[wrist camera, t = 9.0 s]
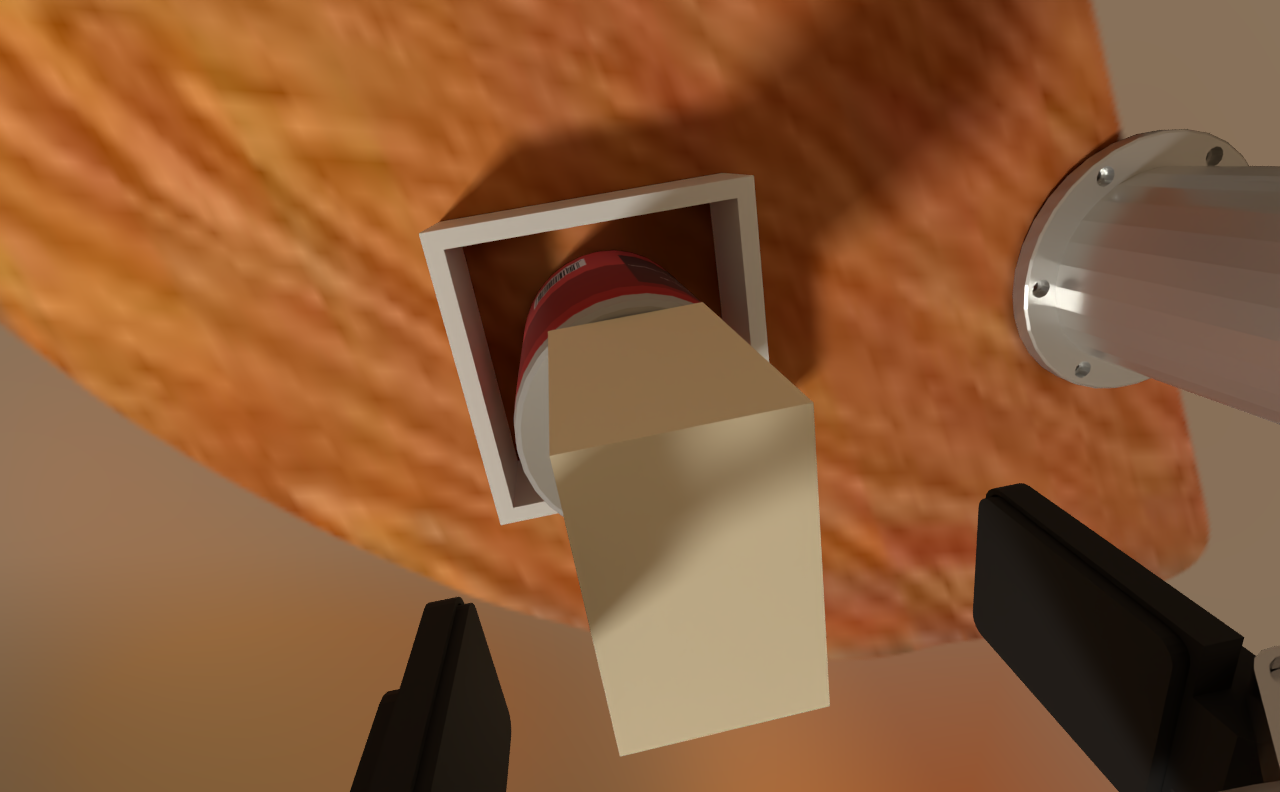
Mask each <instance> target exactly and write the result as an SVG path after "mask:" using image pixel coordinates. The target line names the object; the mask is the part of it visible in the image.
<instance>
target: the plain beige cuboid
mask: <svg viewBox="0 0 1280 792" xmlns="http://www.w3.org/2000/svg"><path fill="white" fill-rule="evenodd" d="M548 377H549V456H550V460H551V465H552V469H553V473H554V477H555V482H556V486H557V490H558V494H559V499H560V503H561V507H562V511H563V516H564V520H565V524H566V528H567V533H568V537H569V541H570V546H571V550H572V554H573V558H574V563H575V567H576V571H577V575H578V580H579V584H580V588H581V592H582V597H583V601H584V605H585V609H586V614H587V618H588V622H589V627H590V631H591V635H592V639H593V644H594V648H595V652H596V656H597V661H598V665H599V669H600V673H601V678H602V682H603V686H604V690H605V695H606V699H607V703H608V707H609V712H610V716H611V720H612V725H613V729H614V733H615V737H616V742H617V746H618V750H619V754H620V756H624V755H628V754H632V753H636V752H641V751H645V750H649V749H653V748H657V747H661V746H665V745H670V744H674V743H678V742H682V741H686V740H691V739H695V738H699V737H702V736H707V735H711V734H715V733H719V732H723V731H727V730H732V729H736V728H740V727H744V726H749V725H752V724H757V723H761V722H765V721H769V720H774V719H778V718H782V717H786V716H790V715H794V714H798V713H803V712H807V711H811V710H815V709H819V708H823V707H827V706H830V704H829V703H830V702H829V683H828V666H827V646H826V628H825V610H824V591H823V573H822V554H821V536H820V517H819V499H818V481H817V462H816V444H815V425H814V407H813V402H812V401H811V400H810V399H809V398H808V397H807V396H806V395H804V394H803V393H802V392H801V391H800V390H799V389H798V388H797V387H796V386H795V385H793V384H792V383H791V382H790V381H789V380H788V379H787V378H786V377H785V376H784V375H782V374H781V373H780V372H779V371H778V370H777V369H776V368H775V367H774V366H773V365H771V364H770V363H769V362H768V361H767V360H766V359H765V358H764V357H763V356H762V355H760V354H759V353H758V352H757V351H756V350H755V349H754V348H753V347H752V346H751V345H749V344H748V343H747V342H746V341H745V340H744V339H743V338H742V337H741V336H740V335H738V334H737V333H736V332H735V331H734V330H733V329H732V328H731V327H730V326H729V325H727V324H726V323H725V322H724V321H723V320H722V319H721V318H720V317H719V316H718V315H716V314H715V313H714V312H713V311H712V310H711V309H710V308H709V307H708V306H707V305H705V304H704V303H703V302H700V303H695V304H690V305H684V306H679V307H674V308H668V309H663V310H658V311H652V312H647V313H642V314H636V315H631V316H626V317H620V318H615V319H610V320H604V321H599V322H594V323H588V324H583V325H578V326H572V327H567V328H562V329H556V330H551V331H548Z"/></svg>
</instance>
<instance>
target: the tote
mask: <svg viewBox="0 0 1280 792" xmlns="http://www.w3.org/2000/svg"><path fill="white" fill-rule="evenodd" d="M706 203H710V211H711V221H712V230H713V239H714V248H715V257H716V266H717V276H718V285H719V294H720V303H721V312H722V320H723V321H724V322H725V323H726V324H727V325H729V326H730V327H731V328H732V329H733V330H734V331H735V332H736V333H737V334H738V335H740V336H741V337H742V338H743V339H744V340H745V341H746V342H747V343H748V344H749V345H751V346H752V347H753V348H754V349H755V350H756V351H757V352H758V353H759V354H760V355H762V356H763V357H764V358H765V359H766V360H767V361H768V362H769V354H768V342H767V330H766V317H765V305H764V293H763V281H762V269H761V257H760V244H759V232H758V220H757V208H756V196H755V184H754V175H744V174H730V173H719V174H713V175H707V176H701V177H695V178H690V179H684V180H678V181H672V182H667V183H661V184H655V185H649V186H643V187H638V188H632V189H626V190H620V191H614V192H609V193H603V194H597V195H591V196H586V197H580V198H574V199H568V200H562V201H557V202H551V203H545V204H539V205H534V206H528V207H522V208H516V209H510V210H505V211H499V212H493V213H487V214H482V215H476V216H470V217H464V218H458V219H453V220H447V221H441V222H438V223H436V224H434V225H433V226H431V227H429V228H427V229H426V230H424V231H422V232H420V233H419V236H420V240H421V243H422V247H423V250H424V254H425V258H426V261H427V265H428V268H429V272H430V275H431V279H432V282H433V286H434V289H435V293H436V297H437V300H438V304H439V307H440V311H441V314H442V318H443V321H444V325H445V329H446V332H447V336H448V339H449V343H450V346H451V350H452V353H453V357H454V360H455V364H456V368H457V371H458V375H459V378H460V382H461V385H462V389H463V392H464V396H465V400H466V403H467V407H468V410H469V414H470V417H471V421H472V424H473V428H474V432H475V435H476V439H477V442H478V446H479V449H480V453H481V456H482V460H483V463H484V467H485V471H486V474H487V478H488V481H489V485H490V488H491V492H492V495H493V499H494V503H495V506H496V510H497V513H498V517H499V520H500V524H501V525H504V524H509V523H513V522H518V521H523V520H528V519H532V518H537V517H542V516H546V515H551V514H556V513H558V512H556V511H555V510H553V509H552V508H551V507H550V506H549V505H548V504H547V503H546V502H545V501H544V500H543V499H542V498H541V497H540V496H539V495H538V493H537V492H536V491H535V490H534V488H533V486H532V485H531V483H530V481H529V479H528V478H527V476H526V474H525V473H524V470H523V467H522V464H521V461H520V460H519V461H518V460H517V456H516V452H515V449H514V445H513V441H512V437H511V433H510V429H509V425H508V421H507V418H506V414H505V410H504V406H503V402H502V398H501V394H500V390H499V387H498V383H497V379H496V375H495V371H494V367H493V363H492V359H491V356H490V352H489V348H488V344H487V340H486V336H485V332H484V328H483V325H482V321H481V317H480V313H479V309H478V305H477V301H476V297H475V294H474V290H473V286H472V282H471V278H470V274H469V270H468V266H467V263H466V259H465V255H464V251H463V247H462V246H468V245H473V244H479V243H485V242H490V241H496V240H502V239H507V238H513V237H519V236H524V235H530V234H536V233H541V232H547V231H553V230H558V229H564V228H570V227H575V226H581V225H587V224H592V223H598V222H604V221H609V220H615V219H621V218H626V217H632V216H638V215H643V214H649V213H655V212H660V211H666V210H672V209H677V208H683V207H689V206H694V205H700V204H706Z"/></svg>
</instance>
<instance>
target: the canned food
mask: <svg viewBox="0 0 1280 792" xmlns="http://www.w3.org/2000/svg"><path fill="white" fill-rule="evenodd" d="M700 302H701V301H700V300H698V299H697V298H696V297H695V296H694V295H693V294H692V293H691V292H689V291H688V290H687V289H686V288H685V287H684V286H683V285H682V284H680V283H679V282H678V281H677V280H676V279H675V278H674V277H673V276H671V275H670V274H669V273H668V272H667V271H666V270H665V269H663V268H662V267H661V266H659V265H658V264H656V263H655V262H653V261H651V260H650V259H648V258H646V257H643V256H640V255H637V254H634V253H632V252H624V251H616V250H612V251H600V252H594V253H591V254H588V255H584V256H581V257H579V258H577V259H575V260H573V261H571V262H569V263H567V264H565V265H564V266H563V267H561V268H560V269H559V270H558V271H556V272H555V273H554V274H553V275H552V276H550V278H549V279H548V280H547V281H546V282H545V284H544V285H543V286H542V287H541V288H540V290H539V291H538V293H537V295H536V297H535V299H534V301H533V302H532V304H531V307H530V310H529V313H528V316H527V319H526V324H525V331H524V338H523V345H522V352H521V360H520V367H519V374H518V381H517V389H516V398H515V412H514V429H515V439H516V445H517V452H518V455H519V458H520V461H521V464H522V467H523V470H524V473H525V474H526V476H527V478H528V479H529V481H530V483H531V485H532V486H533V488H534V490H535V491H536V492H537V493H538V495H539V496H540V497H541V498H542V499H543V500H544V501H545V502H546V503H547V504H548V505H549V506H550V507H551V508H552V509H553V510H555V511H556V512H558V513H559V514H560V515H562V516H563V511H562V507H561V503H560V499H559V494H558V490H557V486H556V482H555V477H554V473H553V469H552V465H551V460H550V456H549V377H548V331H551V330H556V329H562V328H567V327H572V326H578V325H583V324H588V323H594V322H599V321H604V320H610V319H615V318H620V317H626V316H631V315H636V314H642V313H647V312H652V311H658V310H663V309H668V308H674V307H679V306H684V305H690V304H695V303H700ZM563 517H564V516H563Z"/></svg>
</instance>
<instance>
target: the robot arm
mask: <svg viewBox="0 0 1280 792" xmlns="http://www.w3.org/2000/svg"><path fill="white" fill-rule="evenodd" d="M1013 308H1014V318H1015V321H1016V325H1017V328H1018V332H1019V336H1020V338H1021V340H1022V341H1023V343H1024V345H1025V347H1026V349H1027V350H1028V352H1029V354H1030V355H1031V356H1032V357H1033V358H1034V359H1035V360H1036V361H1037V362H1038V363H1039V364H1040V365H1041V366H1042V367H1043V368H1045V369H1046V370H1048V371H1049V372H1051V373H1053V374H1054V375H1056V376H1058V377H1060V378H1062V379H1065V380H1067V381H1069V382H1072V383H1074V384H1077V385H1082V386H1087V387H1092V388H1118V387H1123V386H1127V385H1132V384H1137V383H1139V382H1142V381H1144V380H1147V379H1150V378H1152V379H1155V380H1158V381H1161V382H1163V383H1166V384H1169V385H1172V386H1174V387H1177V388H1180V389H1183V390H1186V391H1188V392H1191V393H1194V394H1197V395H1199V396H1202V397H1205V398H1208V399H1211V400H1213V401H1216V402H1219V403H1222V404H1224V405H1227V406H1230V407H1233V408H1236V409H1238V410H1241V411H1244V412H1247V413H1250V414H1252V415H1255V416H1258V417H1260V418H1263V419H1266V420H1269V421H1272V422H1274V423H1277V424H1280V167H1275V166H1249V165H1248V164H1247V162H1246V160H1245V159H1244V157H1243V156H1242V155H1241V154H1240V153H1239V152H1238V151H1237V150H1236V149H1235V148H1233V147H1232V146H1231V145H1230V144H1229V143H1228V142H1226V141H1224V140H1222V139H1220V138H1218V137H1216V136H1214V135H1212V134H1210V133H1205V132H1199V131H1194V130H1188V129H1183V130H1182V129H1181V130H1158V131H1152V132H1147V133H1141V134H1136V135H1133V136H1131V137H1128V138H1125V139H1123V140H1120V141H1118V142H1115V143H1113V144H1111V145H1109V146H1108V147H1106V148H1104V149H1103V150H1101V151H1099V152H1098V153H1096V154H1094V155H1093V156H1091V157H1089V158H1088V159H1087V160H1086V161H1085V162H1083V163H1082V164H1081V165H1080V166H1079V167H1078V168H1076V169H1075V170H1074V171H1073V172H1072V173H1071V174H1069V175H1068V176H1067V177H1066V178H1065V180H1064V181H1063V182H1062V183H1061V184H1060V185H1059V186H1058V188H1057V189H1056V190H1055V191H1054V192H1053V193H1052V194H1051V196H1050V197H1049V198H1048V200H1047V201H1046V203H1045V204H1044V206H1043V207H1042V209H1041V210H1040V212H1039V213H1038V215H1037V216H1036V218H1035V220H1034V221H1033V223H1032V226H1031V228H1030V230H1029V232H1028V234H1027V236H1026V239H1025V241H1024V243H1023V245H1022V249H1021V252H1020V256H1019V259H1018V263H1017V266H1016V270H1015V277H1014V286H1013ZM973 618H974V622H975V624H976V627H977V629H978V631H979V632H980V634H981V635H982V636H983V637H984V639H985V640H986V641H987V642H988V643H989V644H990V645H991V646H992V648H993V649H994V650H995V651H996V652H997V653H998V654H999V656H1000V657H1001V658H1002V659H1003V660H1004V661H1005V662H1006V664H1007V665H1008V666H1009V667H1010V668H1011V669H1012V670H1013V672H1014V673H1015V674H1016V675H1017V676H1018V677H1019V678H1020V680H1021V681H1022V682H1023V683H1024V684H1025V685H1026V686H1027V688H1028V689H1029V690H1030V691H1031V692H1032V693H1033V694H1034V695H1035V697H1036V698H1037V699H1038V700H1039V701H1040V702H1041V703H1042V705H1043V706H1044V707H1045V708H1046V709H1047V710H1048V711H1049V712H1050V714H1051V715H1052V716H1053V717H1054V718H1055V719H1056V721H1057V722H1058V723H1059V724H1060V725H1061V726H1062V727H1063V729H1064V730H1065V731H1066V732H1067V733H1068V734H1069V735H1070V736H1071V738H1072V739H1073V740H1074V741H1075V742H1076V743H1077V744H1078V746H1079V747H1080V748H1081V749H1082V750H1083V751H1084V752H1085V754H1086V755H1087V756H1088V757H1089V758H1090V759H1091V760H1092V762H1094V764H1095V765H1096V766H1097V767H1098V768H1099V770H1100V771H1101V772H1102V773H1103V774H1104V775H1105V776H1106V777H1107V778H1108V780H1109V781H1110V782H1111V783H1112V784H1113V785H1114V787H1115V788H1116V789H1117V790H1118V791H1119V792H1280V646H1274V647H1271V648H1268V649H1264V650H1262V651H1261V652H1260V653H1259V654H1258V655H1257V656H1255V655H1254V654H1253V653H1251V652H1250V651H1248V650H1247V649H1246V648H1244V647H1243V646H1242V644H1243V640H1244V637H1243V636H1242V635H1240V634H1239V633H1237V632H1236V631H1234V630H1233V629H1232V628H1230V627H1229V626H1227V625H1226V624H1224V623H1223V622H1222V621H1220V620H1219V619H1217V618H1216V617H1215V616H1213V615H1212V614H1210V613H1209V612H1207V611H1206V610H1205V609H1203V608H1202V607H1200V606H1199V605H1198V604H1196V603H1195V602H1193V601H1192V600H1190V599H1189V598H1188V597H1186V596H1185V595H1183V594H1182V593H1180V592H1179V591H1178V590H1176V589H1175V588H1173V587H1172V586H1171V585H1169V584H1168V583H1166V582H1165V581H1163V580H1162V579H1161V578H1159V577H1158V576H1156V575H1155V574H1153V573H1152V572H1151V571H1149V570H1148V569H1146V568H1145V567H1144V566H1142V565H1141V564H1139V563H1138V562H1136V561H1135V560H1134V559H1132V558H1131V557H1129V556H1128V555H1126V554H1125V553H1124V552H1122V551H1121V550H1119V549H1118V548H1116V547H1115V546H1114V545H1112V544H1111V543H1109V542H1108V541H1107V540H1105V539H1104V538H1102V537H1101V536H1099V535H1098V534H1097V533H1095V532H1094V531H1092V530H1091V529H1089V528H1088V527H1087V526H1085V525H1084V524H1082V523H1081V522H1080V521H1078V520H1077V519H1075V518H1074V517H1072V516H1071V515H1070V514H1068V513H1067V512H1065V511H1064V510H1062V509H1061V508H1060V507H1058V506H1057V505H1055V504H1054V503H1053V502H1051V501H1050V500H1048V499H1047V498H1045V497H1044V496H1043V495H1041V494H1040V493H1038V492H1037V491H1035V490H1034V489H1033V488H1031V487H1030V486H1028V485H1026V484H1023V483H1019V484H1014V485H1009V486H1004V487H999V488H994V489H991V490H989V491H988V493H987V494H986V498H985V499H982V500H981V501H980V503H979V512H978V530H977V548H976V566H975V585H974V603H973ZM510 741H511V721H510V715H509V711H508V708H507V705H506V702H505V698H504V695H503V692H502V689H501V686H500V683H499V680H498V677H497V673H496V670H495V667H494V664H493V661H492V657H491V654H490V651H489V648H488V645H487V642H486V639H485V636H484V632H483V629H482V626H481V623H480V620H479V617H478V614H477V611H476V608H475V605H474V604H473V603H468V604H464V602H463V600H462V598H461V597H455V598H450V599H445V600H440V601H435V602H430V603H428V604H426V606H425V608H424V611H423V615H422V618H421V621H420V625H419V628H418V631H417V634H416V638H415V641H414V644H413V648H412V651H411V654H410V657H409V660H408V663H407V667H406V670H405V673H404V677H403V680H402V683H401V686H400V689H398V690H393V691H388V692H387V693H386V694H385V695H384V696H383V697H382V700H381V702H380V704H379V707H378V710H377V713H376V716H375V719H374V722H373V725H372V728H371V731H370V733H369V737H368V739H367V742H366V745H365V749H364V751H363V754H362V757H361V760H360V763H359V766H358V769H357V772H356V775H355V778H354V781H353V784H352V787H351V790H350V792H506V786H507V776H508V765H509V764H508V763H509V754H510Z"/></svg>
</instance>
